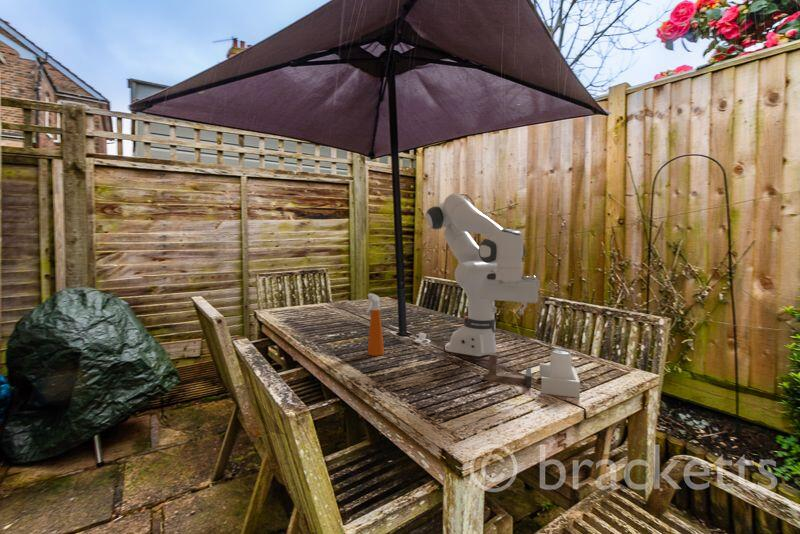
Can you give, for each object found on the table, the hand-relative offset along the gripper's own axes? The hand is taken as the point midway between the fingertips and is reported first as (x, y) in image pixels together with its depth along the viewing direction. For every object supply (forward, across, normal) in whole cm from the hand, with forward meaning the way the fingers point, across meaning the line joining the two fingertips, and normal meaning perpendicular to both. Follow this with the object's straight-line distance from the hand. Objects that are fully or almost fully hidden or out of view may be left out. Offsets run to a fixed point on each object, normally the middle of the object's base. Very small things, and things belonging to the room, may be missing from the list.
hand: (507, 313), depth 133 cm
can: (+22, -18, +8) cm, 29 cm away
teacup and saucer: (+24, +43, -28) cm, 56 cm away
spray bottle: (+23, +53, -3) cm, 58 cm away
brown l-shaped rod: (+22, 0, +9) cm, 23 cm away
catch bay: (+21, -17, +8) cm, 29 cm away
